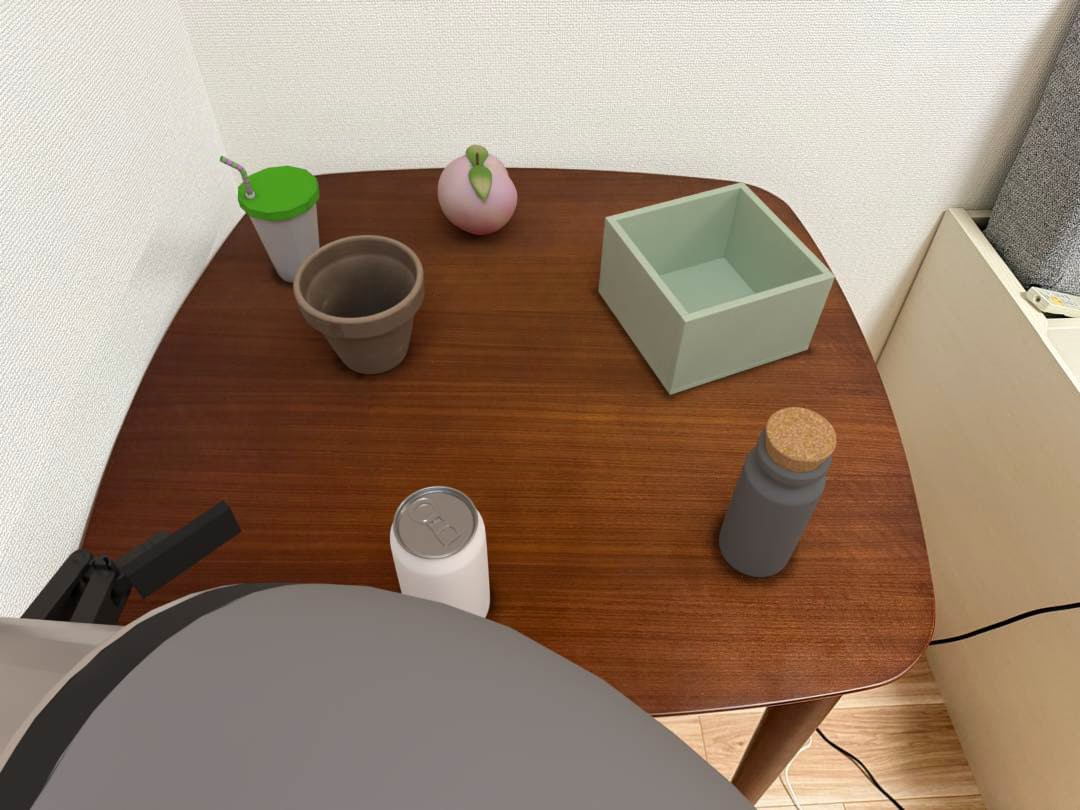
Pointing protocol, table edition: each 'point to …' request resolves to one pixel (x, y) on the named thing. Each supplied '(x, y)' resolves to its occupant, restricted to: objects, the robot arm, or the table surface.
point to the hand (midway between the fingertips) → (298, 588)
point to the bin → (711, 285)
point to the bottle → (777, 491)
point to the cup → (282, 213)
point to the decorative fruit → (477, 192)
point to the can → (442, 549)
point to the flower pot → (362, 299)
